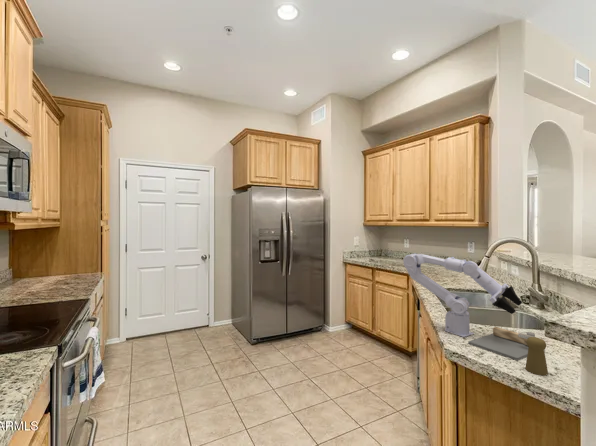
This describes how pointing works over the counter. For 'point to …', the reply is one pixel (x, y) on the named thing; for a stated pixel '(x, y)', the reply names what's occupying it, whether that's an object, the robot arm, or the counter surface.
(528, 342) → the cork
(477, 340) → the base plate
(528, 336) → the keeper
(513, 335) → the link
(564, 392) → the counter surface
